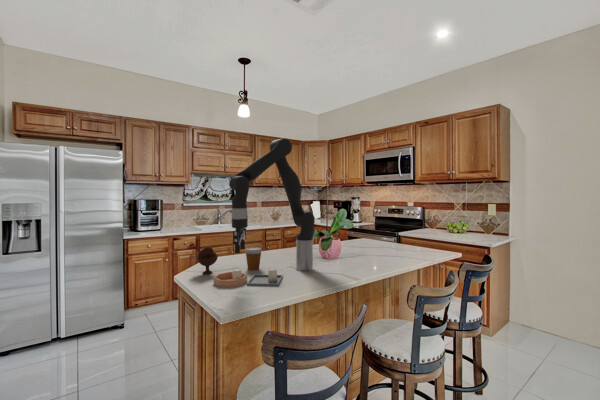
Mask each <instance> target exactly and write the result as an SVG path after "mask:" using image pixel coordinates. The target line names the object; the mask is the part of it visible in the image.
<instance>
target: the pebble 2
mask: <svg viewBox="0 0 600 400" xmlns="http://www.w3.org/2000/svg"><path fill="white" fill-rule="evenodd" d="M267 275H268V282H272V283H273V282H277V275H278V269H276V268H268V270H267Z"/></svg>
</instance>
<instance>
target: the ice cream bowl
mask: <svg viewBox="0 0 600 400" xmlns="http://www.w3.org/2000/svg"><path fill="white" fill-rule="evenodd" d="M218 257H219V256H218V254H217V252H215V251H214V248H213V247H212V246H210V245H209V246H204V247H203V248H202V249H200V250H199V251H198V254H197V256H196V259H197V262H198V263H199V264H200V265H201V266H202V267H205V270H204V271H202V275H204V276H208V275H212V274H213V270H210V267H211V266H212V265H214V264H215V263H216V262H217V260H218Z"/></svg>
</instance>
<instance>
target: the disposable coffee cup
mask: <svg viewBox="0 0 600 400" xmlns="http://www.w3.org/2000/svg"><path fill="white" fill-rule="evenodd" d="M262 251H263V250H262V248H261V247H255V246H253V247H252V246H251V247H245V250H244V252H245V256H246V264H247V266H246V267H247V270H248V271H259V270H260V264H261V257H262Z"/></svg>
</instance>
